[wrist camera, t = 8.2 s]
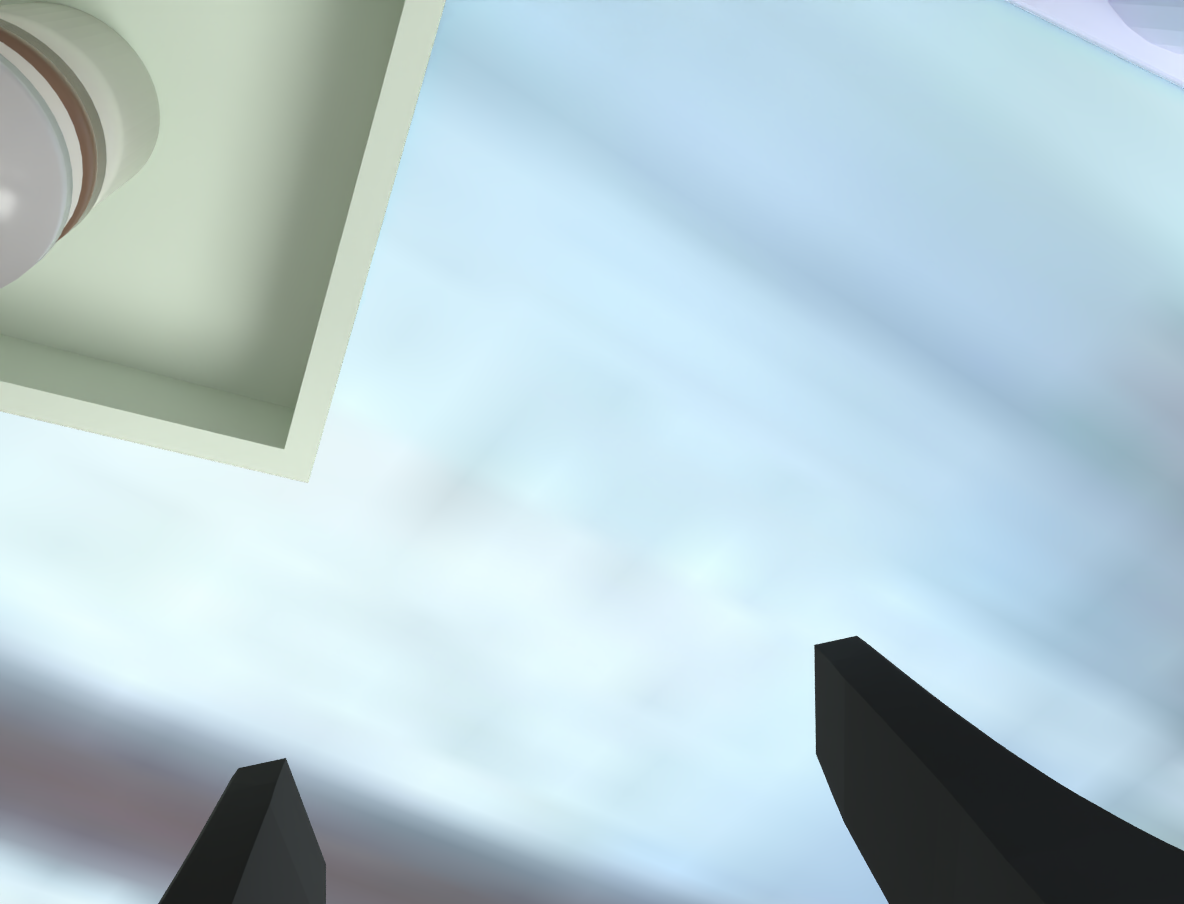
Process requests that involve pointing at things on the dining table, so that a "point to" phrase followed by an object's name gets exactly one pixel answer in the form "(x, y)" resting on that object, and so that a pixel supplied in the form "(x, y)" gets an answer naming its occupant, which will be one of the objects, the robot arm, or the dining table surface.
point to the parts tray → (226, 231)
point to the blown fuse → (65, 125)
